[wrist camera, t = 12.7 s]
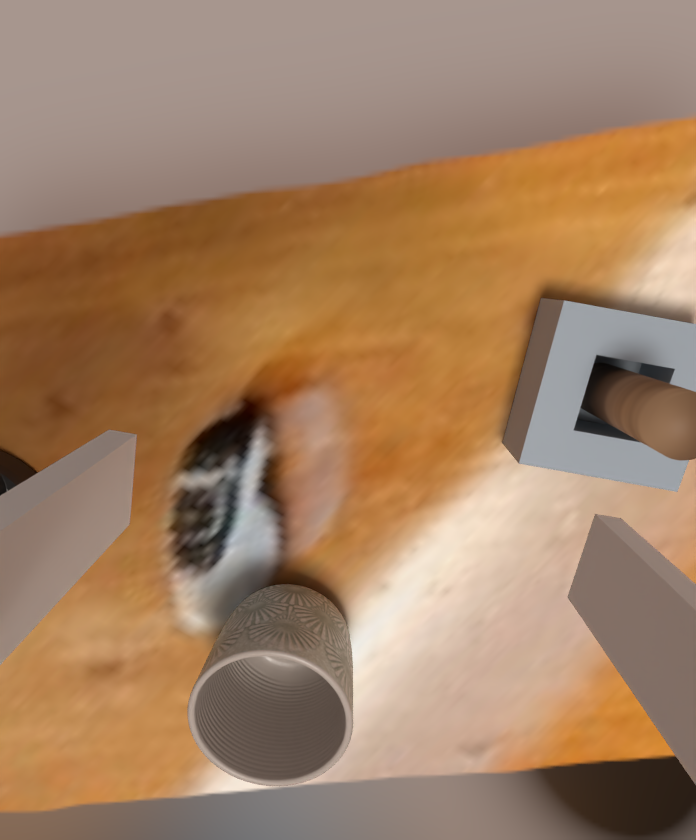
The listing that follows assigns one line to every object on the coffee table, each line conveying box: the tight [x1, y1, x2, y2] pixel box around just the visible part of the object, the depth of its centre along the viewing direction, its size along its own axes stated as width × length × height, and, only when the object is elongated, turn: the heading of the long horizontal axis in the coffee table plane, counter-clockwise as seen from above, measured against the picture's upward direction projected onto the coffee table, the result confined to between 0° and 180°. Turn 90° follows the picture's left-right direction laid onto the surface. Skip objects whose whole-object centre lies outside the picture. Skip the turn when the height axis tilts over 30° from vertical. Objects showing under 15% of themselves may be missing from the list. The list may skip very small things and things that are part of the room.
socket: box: [503, 298, 696, 492], centre depth 39 cm, size 12×12×5 cm
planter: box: [188, 584, 353, 786], centre depth 44 cm, size 12×12×11 cm
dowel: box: [580, 363, 696, 461], centre depth 35 cm, size 4×4×12 cm
